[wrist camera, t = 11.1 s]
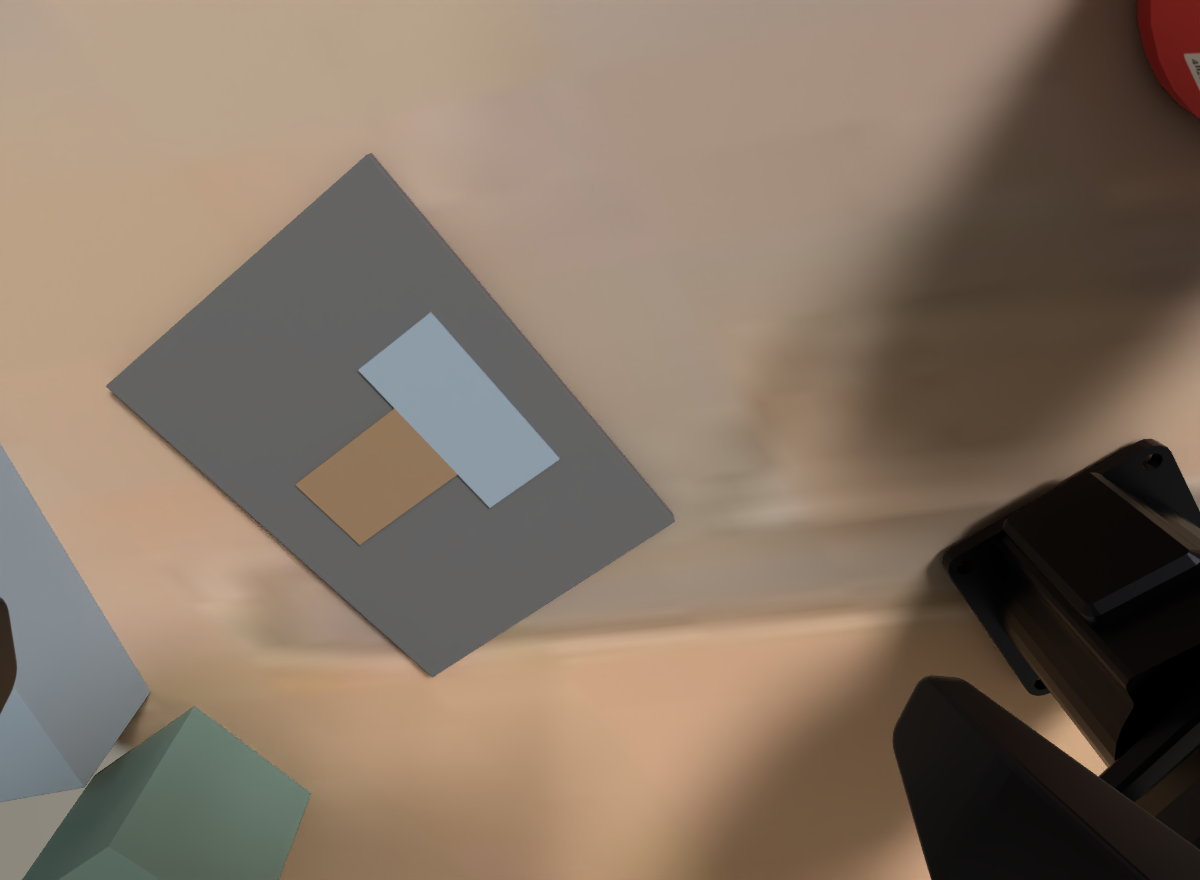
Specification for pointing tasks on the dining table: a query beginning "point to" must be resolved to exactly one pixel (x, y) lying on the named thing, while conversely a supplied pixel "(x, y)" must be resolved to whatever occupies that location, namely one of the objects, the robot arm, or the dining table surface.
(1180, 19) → the canned food
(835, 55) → the dining table surface
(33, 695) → the blue base block
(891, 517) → the dining table surface
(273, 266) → the card
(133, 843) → the teal cube
